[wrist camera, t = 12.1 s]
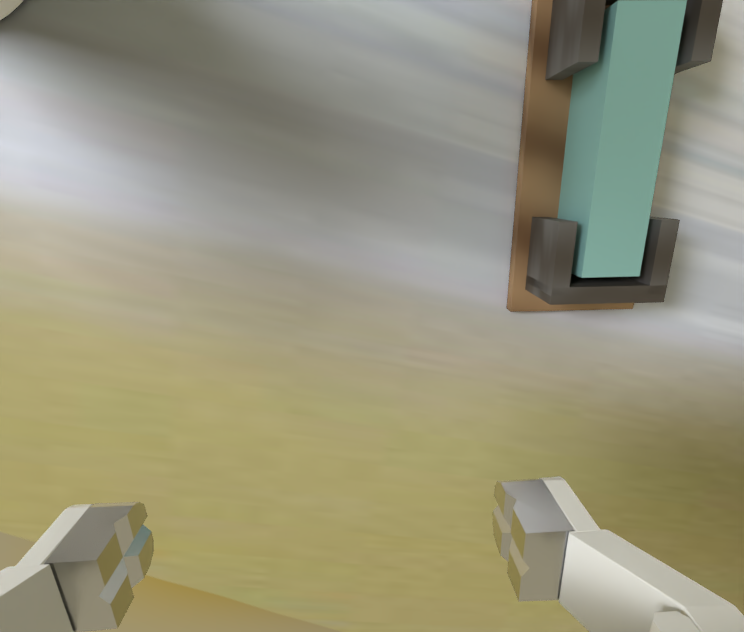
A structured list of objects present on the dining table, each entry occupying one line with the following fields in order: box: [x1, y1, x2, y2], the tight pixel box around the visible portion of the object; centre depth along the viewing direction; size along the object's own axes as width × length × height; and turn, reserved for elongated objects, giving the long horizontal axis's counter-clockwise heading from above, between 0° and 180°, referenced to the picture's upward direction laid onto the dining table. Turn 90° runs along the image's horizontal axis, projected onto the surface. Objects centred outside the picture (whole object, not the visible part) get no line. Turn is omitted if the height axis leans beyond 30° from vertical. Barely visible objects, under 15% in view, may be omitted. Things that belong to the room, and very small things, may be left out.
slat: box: [558, 0, 687, 278], centre depth 28 cm, size 16×4×4 cm, turn 1°
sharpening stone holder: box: [507, 0, 723, 312], centre depth 29 cm, size 24×10×6 cm, turn 1°
